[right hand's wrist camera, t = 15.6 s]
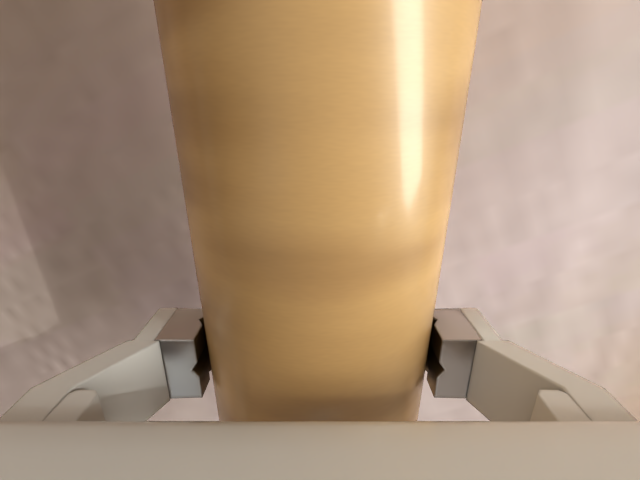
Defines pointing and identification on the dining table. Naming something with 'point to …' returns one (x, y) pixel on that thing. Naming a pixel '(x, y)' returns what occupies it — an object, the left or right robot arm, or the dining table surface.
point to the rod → (318, 193)
